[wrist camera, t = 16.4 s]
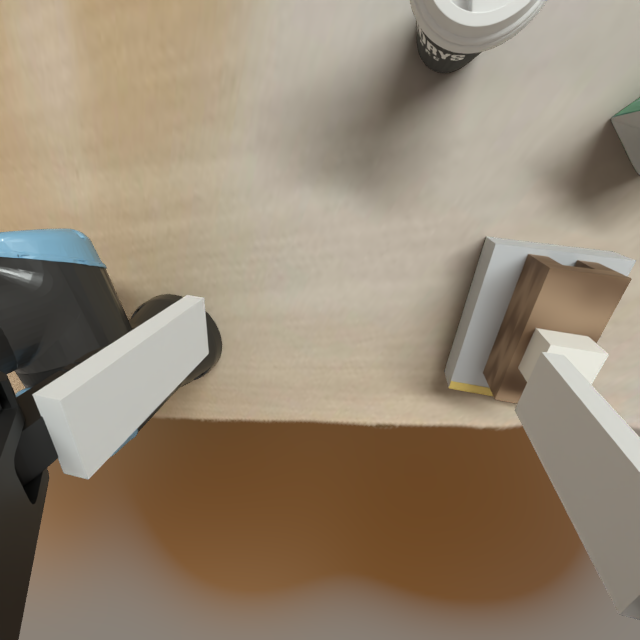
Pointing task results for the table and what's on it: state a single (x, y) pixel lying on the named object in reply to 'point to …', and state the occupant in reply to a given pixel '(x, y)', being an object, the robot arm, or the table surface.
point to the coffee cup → (467, 28)
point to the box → (629, 131)
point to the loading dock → (504, 302)
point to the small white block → (564, 352)
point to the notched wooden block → (550, 314)
